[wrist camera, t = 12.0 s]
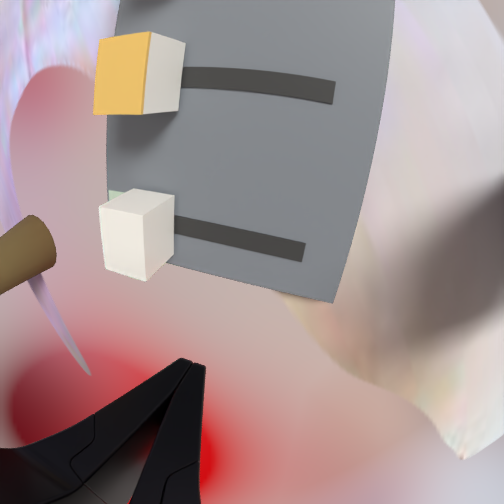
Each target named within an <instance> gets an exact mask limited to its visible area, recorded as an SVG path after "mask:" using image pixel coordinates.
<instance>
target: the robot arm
mask: <svg viewBox="0 0 504 504" xmlns="http://www.w3.org/2000/svg"><path fill="white" fill-rule="evenodd" d="M205 374H206V367H205V366H204V365H201V364H198V363H193V362H192V361H190V360H187V359H184V358H179V359H178V360H176V361H175V362H173V363H172V364H171V365H169V366H167V367H166V368H164V369H163V370H161V371H160V372H158V373H157V374H155V375H154V376H152V377H151V378H149V379H148V380H146V381H144V382H143V383H141V384H140V385H138V386H137V387H135V388H134V389H132V390H131V391H129V392H127V393H126V394H124V395H123V396H121V397H120V398H118V399H117V400H115V401H113V402H112V403H110V404H109V405H107V406H105V407H104V408H102V409H100V410H99V411H97V412H96V413H95V415H94V414H92V415H91V416H89V417H87V418H86V419H84V420H82V421H80V422H79V423H77V424H75V425H73V426H71V427H69V428H67V429H65V430H63V431H61V432H58V433H56V434H54V435H51V436H49V437H47V438H44V439H42V440H39V441H37V442H34V443H32V444H29V445H26V446H23V447H18V448H0V504H127V503H128V502H129V500H130V498H131V497H132V498H131V500H130V503H129V504H201V499H200V484H199V483H200V481H199V480H200V479H199V475H200V451H201V432H202V415H203V401H204V387H205Z"/></svg>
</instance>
